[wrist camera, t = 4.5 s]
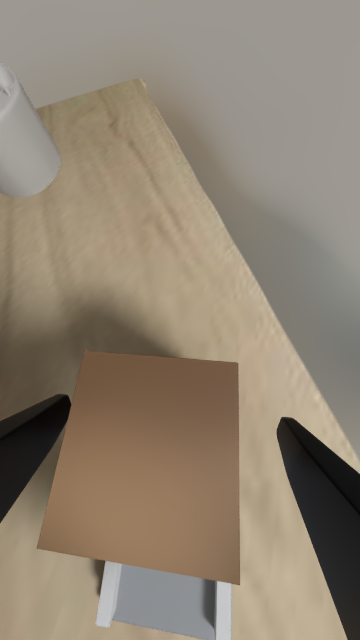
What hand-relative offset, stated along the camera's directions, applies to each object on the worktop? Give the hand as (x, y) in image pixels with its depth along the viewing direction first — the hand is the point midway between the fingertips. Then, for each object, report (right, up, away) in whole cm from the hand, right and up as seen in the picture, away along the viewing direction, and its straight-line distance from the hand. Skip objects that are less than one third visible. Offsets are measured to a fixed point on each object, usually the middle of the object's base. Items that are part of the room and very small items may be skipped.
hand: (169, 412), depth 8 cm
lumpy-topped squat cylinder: (-22, +26, +20) cm, 39 cm away
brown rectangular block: (+1, -3, +8) cm, 9 cm away
